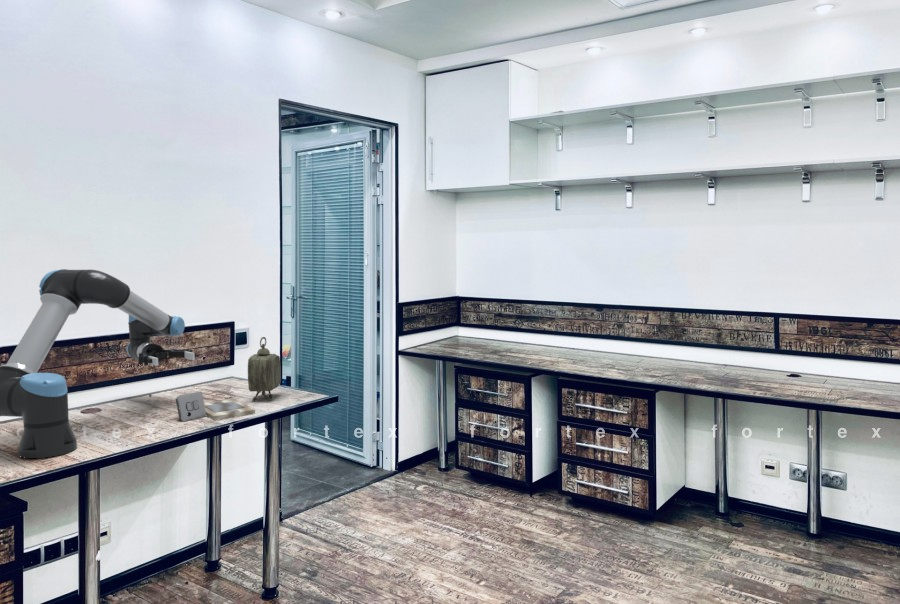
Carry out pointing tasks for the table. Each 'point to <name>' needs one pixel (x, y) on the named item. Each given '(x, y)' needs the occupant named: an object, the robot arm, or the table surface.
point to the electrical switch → (190, 406)
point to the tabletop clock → (263, 371)
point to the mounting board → (227, 409)
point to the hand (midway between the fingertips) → (175, 359)
